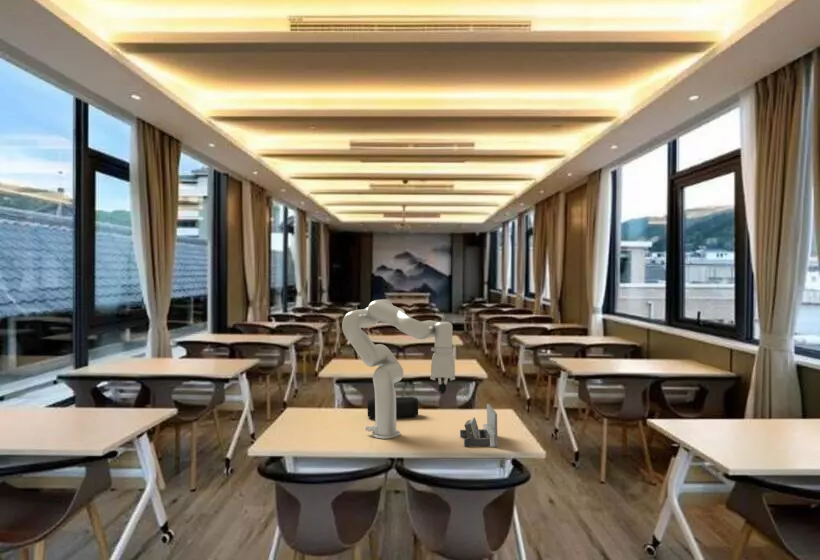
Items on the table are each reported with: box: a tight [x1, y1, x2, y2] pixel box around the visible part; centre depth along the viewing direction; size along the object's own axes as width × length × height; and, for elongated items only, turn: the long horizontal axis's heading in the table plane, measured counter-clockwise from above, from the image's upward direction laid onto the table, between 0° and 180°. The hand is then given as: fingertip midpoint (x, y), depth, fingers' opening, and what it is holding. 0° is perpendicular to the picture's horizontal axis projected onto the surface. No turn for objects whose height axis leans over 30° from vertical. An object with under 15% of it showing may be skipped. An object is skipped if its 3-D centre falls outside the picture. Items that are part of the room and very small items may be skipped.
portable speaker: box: [367, 396, 419, 419], centre depth 288 cm, size 26×10×10 cm, turn 94°
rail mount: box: [459, 403, 498, 448], centre depth 244 cm, size 14×19×14 cm
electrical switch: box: [464, 416, 482, 439], centre depth 246 cm, size 9×5×9 cm, turn 165°
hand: (442, 392), depth 244 cm, fingers closed
